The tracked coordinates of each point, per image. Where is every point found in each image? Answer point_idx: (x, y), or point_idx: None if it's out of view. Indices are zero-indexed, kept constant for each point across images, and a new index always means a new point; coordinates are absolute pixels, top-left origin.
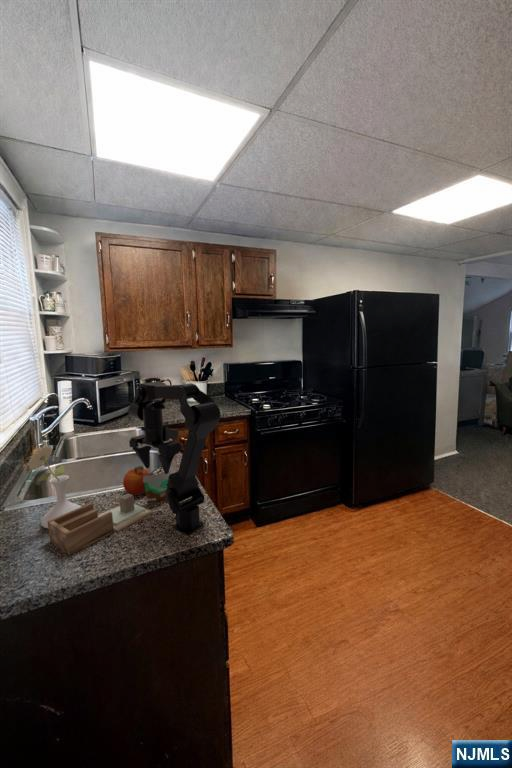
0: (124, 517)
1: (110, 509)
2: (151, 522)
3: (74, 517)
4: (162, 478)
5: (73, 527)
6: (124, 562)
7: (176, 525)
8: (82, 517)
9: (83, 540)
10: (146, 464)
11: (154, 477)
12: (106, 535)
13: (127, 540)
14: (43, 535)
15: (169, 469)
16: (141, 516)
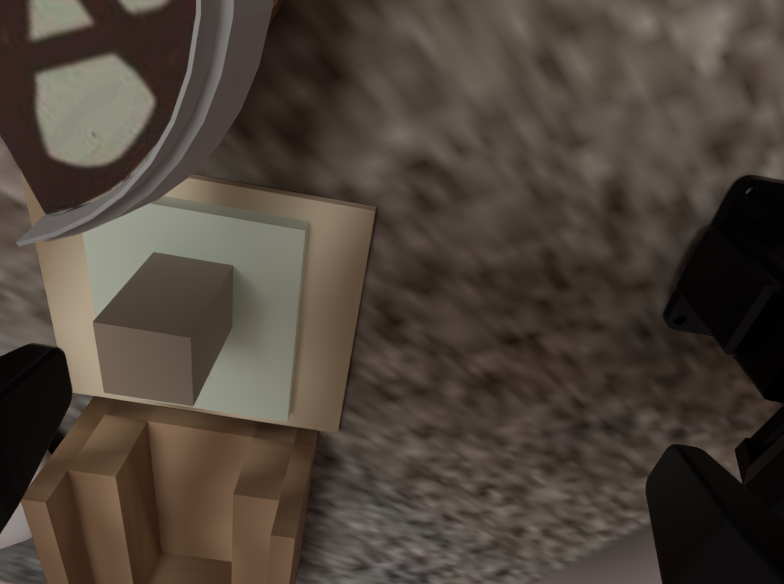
0: (273, 365)
1: (48, 293)
2: (464, 305)
3: (90, 547)
4: (262, 29)
5: (145, 533)
6: (556, 541)
7: (690, 307)
8: (127, 534)
9: (297, 562)
10: (15, 472)
11: (185, 160)
12: (313, 460)
13: (454, 456)
14: None
15: (772, 514)
16: (348, 290)
